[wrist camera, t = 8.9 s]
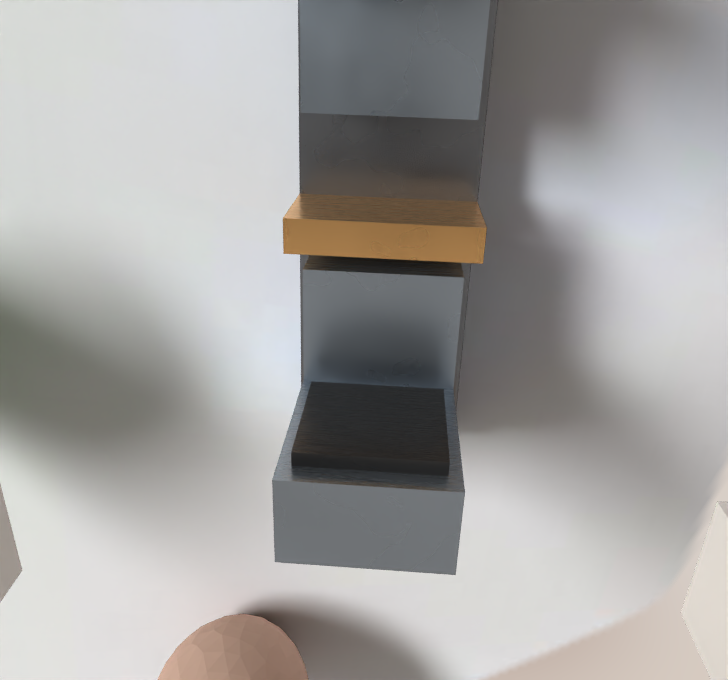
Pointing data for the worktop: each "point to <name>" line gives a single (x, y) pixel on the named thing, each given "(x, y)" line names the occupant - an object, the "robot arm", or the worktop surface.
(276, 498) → the l-shaped step block
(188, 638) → the egg
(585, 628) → the worktop surface
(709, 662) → the robot arm
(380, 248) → the rail
